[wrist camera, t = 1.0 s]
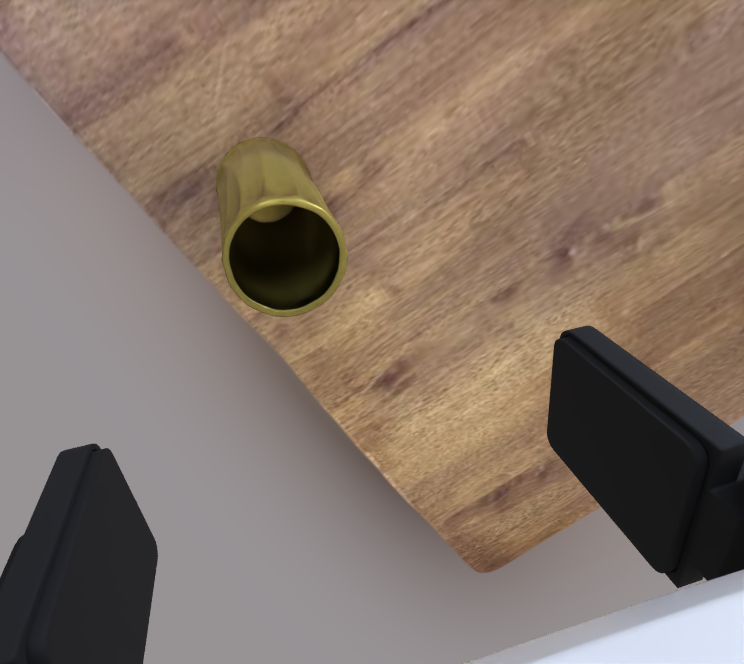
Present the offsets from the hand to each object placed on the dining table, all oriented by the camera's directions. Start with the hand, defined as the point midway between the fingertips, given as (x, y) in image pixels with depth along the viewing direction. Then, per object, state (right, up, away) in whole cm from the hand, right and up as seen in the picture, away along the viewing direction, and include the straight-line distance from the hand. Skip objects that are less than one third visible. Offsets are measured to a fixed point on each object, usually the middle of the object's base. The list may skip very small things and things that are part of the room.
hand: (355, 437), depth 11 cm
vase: (-7, +12, +23) cm, 26 cm away
